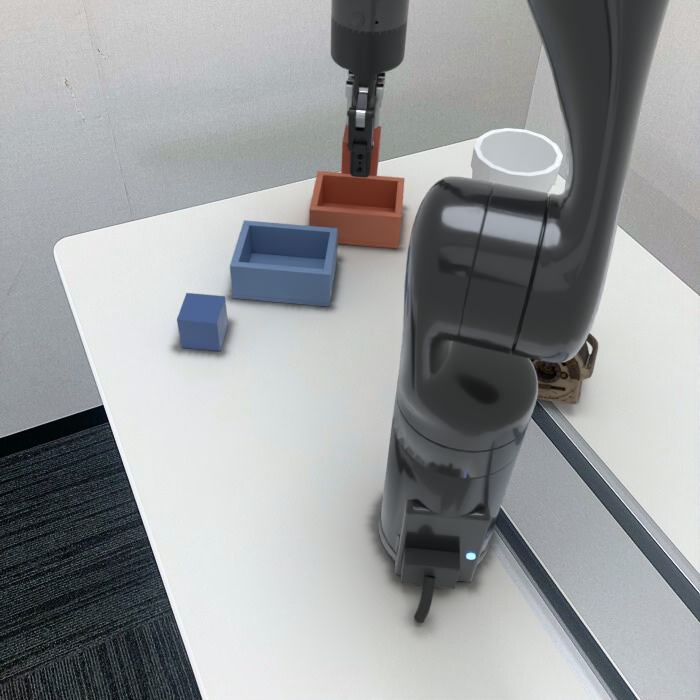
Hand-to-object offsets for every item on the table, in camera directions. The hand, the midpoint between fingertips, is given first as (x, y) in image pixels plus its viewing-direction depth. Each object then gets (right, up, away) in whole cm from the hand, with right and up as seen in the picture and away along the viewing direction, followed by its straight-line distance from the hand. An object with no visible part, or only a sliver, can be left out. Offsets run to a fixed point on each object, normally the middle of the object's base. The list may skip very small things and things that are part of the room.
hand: (361, 163), depth 86 cm
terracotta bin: (-1, -6, +6) cm, 9 cm away
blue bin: (-9, -13, -1) cm, 16 cm away
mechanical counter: (+19, -23, -9) cm, 32 cm away
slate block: (-16, -20, -8) cm, 27 cm away
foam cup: (+16, -9, +4) cm, 19 cm away
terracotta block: (0, 0, 0) cm, 0 cm away
